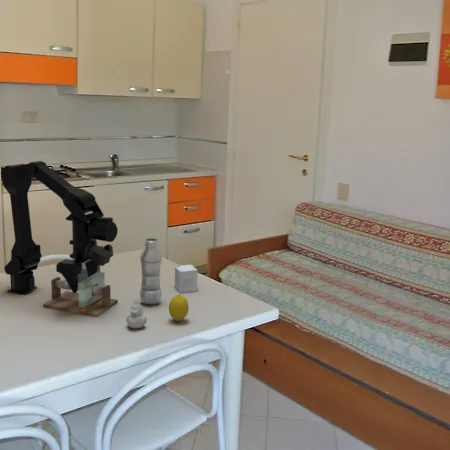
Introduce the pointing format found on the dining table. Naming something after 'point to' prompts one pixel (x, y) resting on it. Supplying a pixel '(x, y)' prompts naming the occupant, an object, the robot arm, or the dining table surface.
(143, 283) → the plastic bottle
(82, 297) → the collar
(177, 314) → the lemon
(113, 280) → the dining table surface
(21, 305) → the dining table surface
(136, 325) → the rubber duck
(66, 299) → the pipe stand
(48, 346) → the dining table surface
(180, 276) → the skincare box
